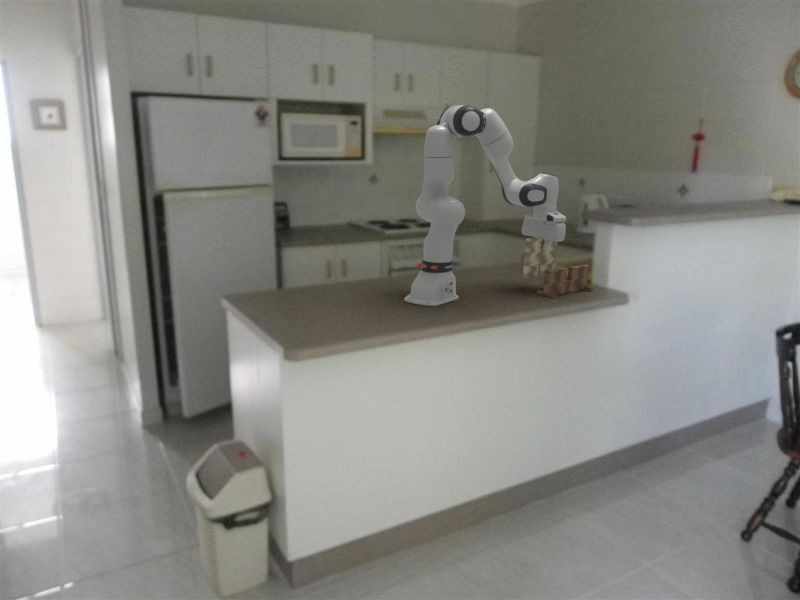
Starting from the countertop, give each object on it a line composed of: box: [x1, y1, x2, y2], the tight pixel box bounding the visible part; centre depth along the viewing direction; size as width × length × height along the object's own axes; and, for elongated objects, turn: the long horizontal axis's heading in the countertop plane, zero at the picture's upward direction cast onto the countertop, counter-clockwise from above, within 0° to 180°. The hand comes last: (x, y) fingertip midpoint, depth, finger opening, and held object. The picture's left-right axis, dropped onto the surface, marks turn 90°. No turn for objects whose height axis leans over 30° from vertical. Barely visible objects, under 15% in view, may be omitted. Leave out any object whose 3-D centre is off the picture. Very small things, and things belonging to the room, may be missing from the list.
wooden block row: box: [536, 264, 594, 300], centre depth 240 cm, size 24×8×10 cm, turn 124°
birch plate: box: [522, 237, 558, 279], centre depth 241 cm, size 16×2×16 cm, turn 124°
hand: (541, 249), depth 240 cm, fingers closed on birch plate, 2 cm apart
